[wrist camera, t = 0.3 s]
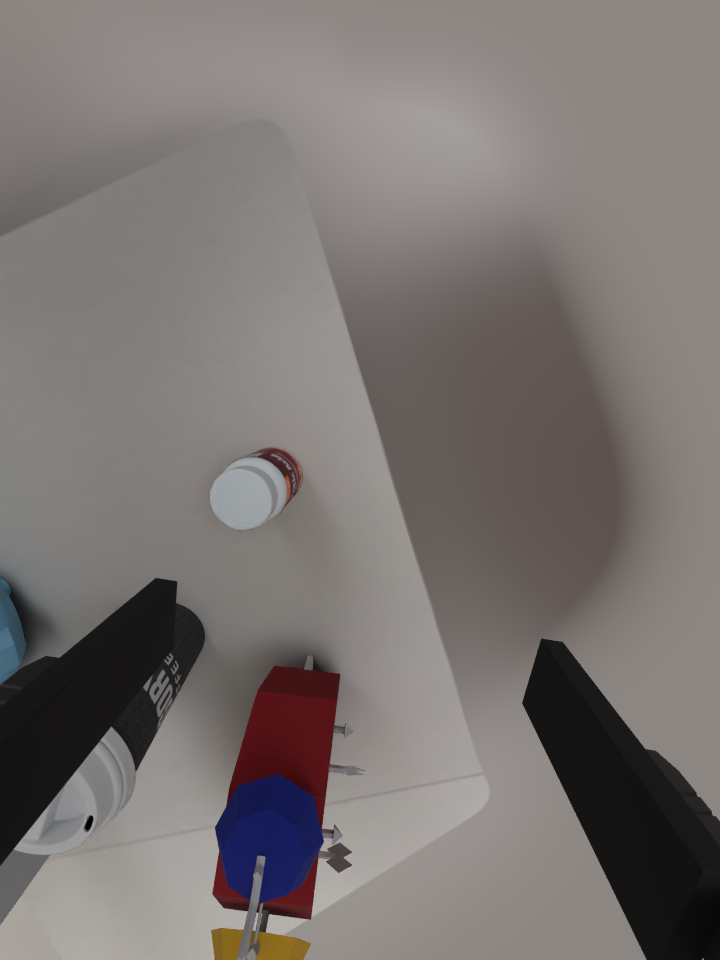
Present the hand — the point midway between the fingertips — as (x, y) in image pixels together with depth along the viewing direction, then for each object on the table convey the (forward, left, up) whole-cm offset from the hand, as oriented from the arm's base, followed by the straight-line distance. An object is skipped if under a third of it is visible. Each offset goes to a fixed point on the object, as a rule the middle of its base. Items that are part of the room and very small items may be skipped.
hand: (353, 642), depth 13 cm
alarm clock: (+18, -10, -19) cm, 28 cm away
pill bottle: (-4, -7, -19) cm, 21 cm away
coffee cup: (+7, -21, -19) cm, 29 cm away
